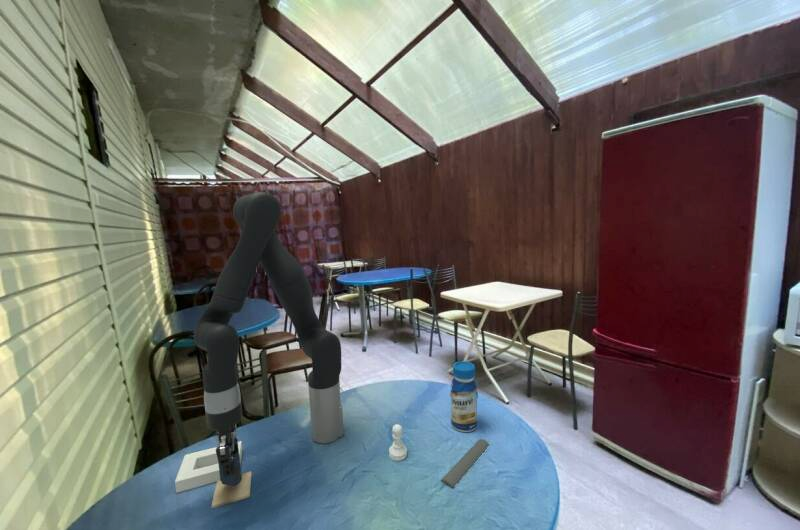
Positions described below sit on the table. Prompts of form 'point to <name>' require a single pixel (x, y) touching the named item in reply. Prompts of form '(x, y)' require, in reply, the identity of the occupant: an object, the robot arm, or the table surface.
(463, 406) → the beverage bottle
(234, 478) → the vaping device
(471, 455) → the gray half cylinder
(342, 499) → the table surface
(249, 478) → the tan rectangular block
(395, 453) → the chess pawn
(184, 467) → the white cutout frame
